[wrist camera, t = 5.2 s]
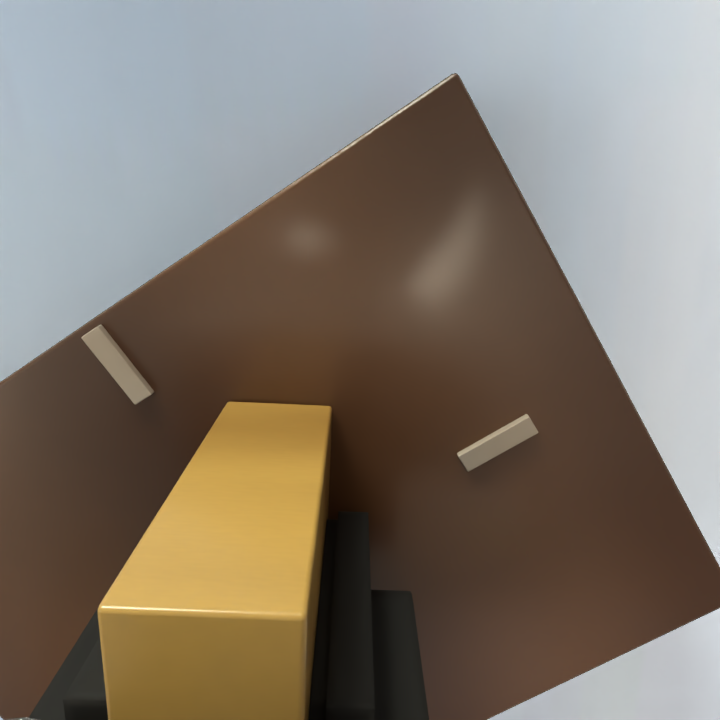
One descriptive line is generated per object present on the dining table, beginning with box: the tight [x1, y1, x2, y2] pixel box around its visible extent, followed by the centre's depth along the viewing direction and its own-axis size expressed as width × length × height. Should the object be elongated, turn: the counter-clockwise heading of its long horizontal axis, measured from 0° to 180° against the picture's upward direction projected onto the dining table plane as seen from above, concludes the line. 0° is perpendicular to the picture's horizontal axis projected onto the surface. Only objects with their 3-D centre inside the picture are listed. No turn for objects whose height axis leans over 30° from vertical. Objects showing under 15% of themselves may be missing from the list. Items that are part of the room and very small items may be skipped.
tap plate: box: [0, 73, 720, 720], centre depth 12 cm, size 14×11×3 cm
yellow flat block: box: [98, 402, 332, 720], centre depth 8 cm, size 6×2×5 cm, turn 177°
